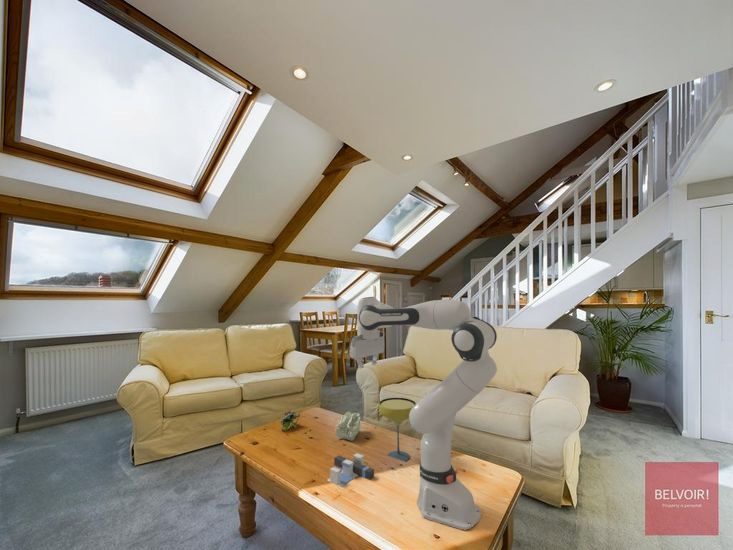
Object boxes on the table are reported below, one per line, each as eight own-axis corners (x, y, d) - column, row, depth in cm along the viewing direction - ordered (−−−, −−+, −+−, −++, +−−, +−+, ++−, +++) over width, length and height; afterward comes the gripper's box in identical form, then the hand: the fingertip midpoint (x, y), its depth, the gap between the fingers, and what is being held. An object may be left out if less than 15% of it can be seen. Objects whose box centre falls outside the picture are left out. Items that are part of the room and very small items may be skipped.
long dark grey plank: (374, 476, 138) (374, 468, 138) (369, 480, 135) (369, 472, 136) (339, 462, 150) (339, 455, 150) (334, 465, 148) (334, 457, 148)
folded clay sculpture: (351, 453, 175) (350, 433, 169) (332, 442, 182) (330, 422, 175) (369, 429, 189) (369, 409, 182) (350, 419, 195) (350, 400, 189)
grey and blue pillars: (368, 472, 144) (367, 457, 144) (341, 491, 130) (341, 473, 131) (353, 466, 149) (353, 451, 149) (326, 483, 136) (326, 467, 136)
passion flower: (287, 435, 196) (293, 414, 203) (300, 436, 190) (306, 414, 198) (274, 429, 189) (281, 408, 197) (287, 429, 184) (293, 408, 191)
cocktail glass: (405, 445, 170) (404, 395, 171) (425, 461, 153) (423, 406, 155) (373, 452, 162) (372, 400, 164) (390, 469, 146) (389, 412, 147)
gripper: (357, 337, 134) (357, 371, 134) (386, 332, 150) (386, 363, 150) (346, 336, 138) (346, 369, 137) (375, 331, 154) (375, 361, 153)
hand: (367, 366), depth 144 cm, fingers open, 8 cm apart
